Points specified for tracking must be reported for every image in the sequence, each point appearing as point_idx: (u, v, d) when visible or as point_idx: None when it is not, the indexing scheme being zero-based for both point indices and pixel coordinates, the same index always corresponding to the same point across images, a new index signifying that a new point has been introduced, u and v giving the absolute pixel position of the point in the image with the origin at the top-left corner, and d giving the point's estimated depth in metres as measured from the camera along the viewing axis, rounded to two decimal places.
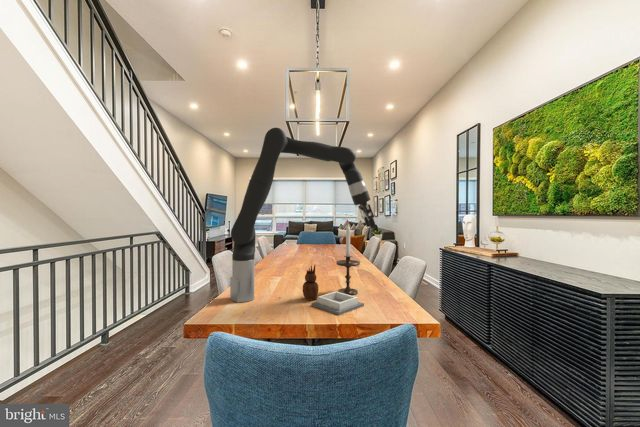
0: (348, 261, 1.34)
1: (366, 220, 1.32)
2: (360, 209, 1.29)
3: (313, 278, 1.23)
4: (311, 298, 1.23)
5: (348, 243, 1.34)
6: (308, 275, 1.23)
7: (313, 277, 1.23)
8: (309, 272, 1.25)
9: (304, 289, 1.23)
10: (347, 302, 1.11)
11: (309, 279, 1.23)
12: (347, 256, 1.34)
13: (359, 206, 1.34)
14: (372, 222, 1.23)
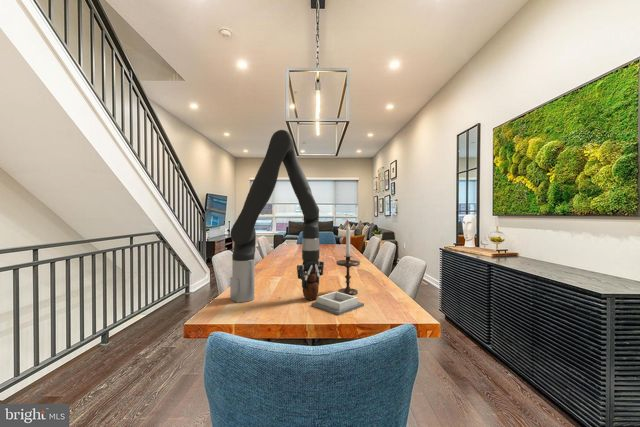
0: (348, 261, 1.34)
1: None
2: None
3: (313, 278, 1.23)
4: (311, 298, 1.23)
5: (348, 243, 1.34)
6: None
7: (313, 277, 1.23)
8: None
9: (304, 289, 1.23)
10: (347, 302, 1.11)
11: (309, 279, 1.23)
12: (347, 256, 1.34)
13: (318, 261, 1.30)
14: (303, 283, 1.22)
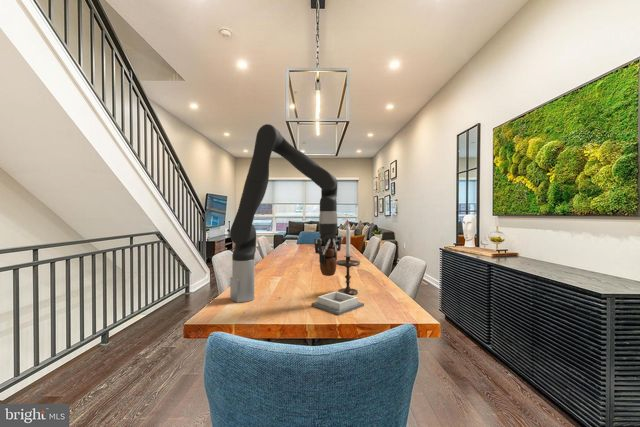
0: (348, 261, 1.34)
1: None
2: None
3: (331, 253, 1.18)
4: (329, 274, 1.17)
5: (348, 243, 1.34)
6: (326, 250, 1.18)
7: (331, 252, 1.18)
8: None
9: (322, 264, 1.18)
10: (347, 302, 1.11)
11: (327, 254, 1.17)
12: (347, 256, 1.34)
13: None
14: (320, 258, 1.16)
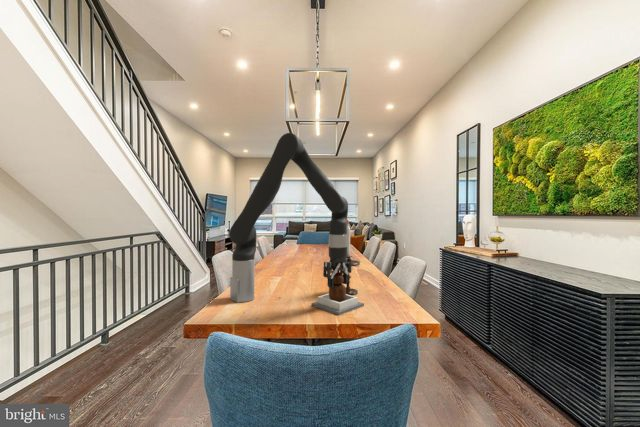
0: None
1: (343, 276, 1.20)
2: None
3: (340, 280, 1.15)
4: None
5: (348, 243, 1.34)
6: (335, 277, 1.15)
7: (340, 279, 1.15)
8: (336, 274, 1.17)
9: (331, 292, 1.15)
10: (347, 302, 1.11)
11: (336, 281, 1.15)
12: (347, 256, 1.34)
13: (345, 258, 1.21)
14: (328, 282, 1.13)
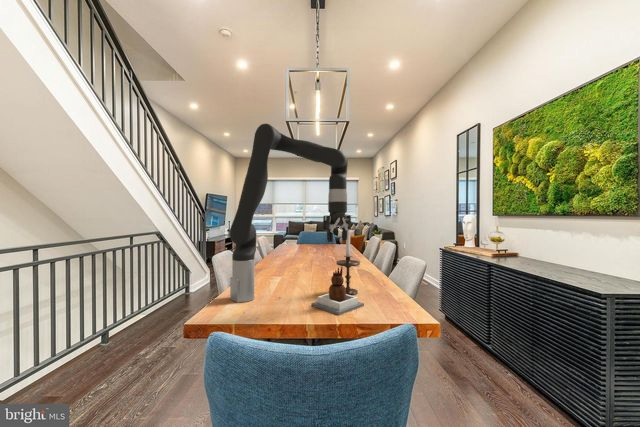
0: (348, 261, 1.34)
1: (343, 233, 1.19)
2: None
3: (340, 281, 1.15)
4: None
5: (348, 243, 1.34)
6: (335, 277, 1.15)
7: (340, 280, 1.15)
8: (336, 274, 1.16)
9: (331, 292, 1.15)
10: (347, 302, 1.11)
11: (336, 282, 1.14)
12: (347, 256, 1.34)
13: (345, 215, 1.21)
14: (328, 235, 1.13)
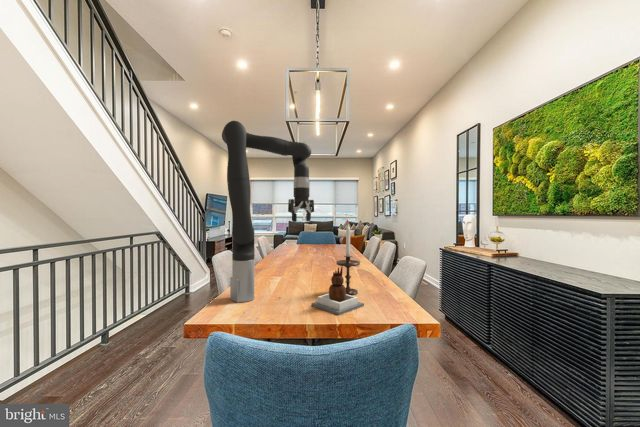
0: (348, 261, 1.34)
1: (307, 214, 1.40)
2: None
3: (340, 281, 1.14)
4: None
5: (348, 243, 1.34)
6: (335, 277, 1.15)
7: (340, 280, 1.15)
8: (336, 274, 1.16)
9: (331, 292, 1.15)
10: (347, 302, 1.11)
11: (336, 282, 1.14)
12: (347, 256, 1.34)
13: None
14: (292, 216, 1.33)
